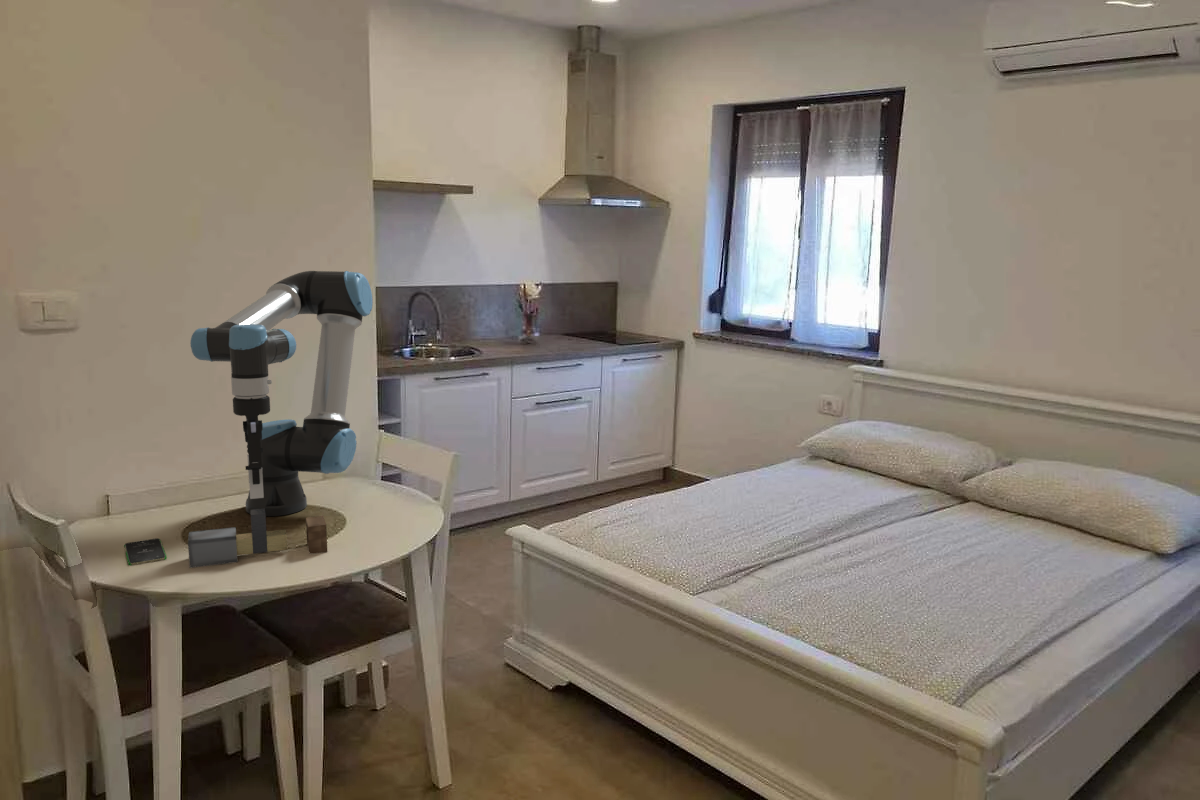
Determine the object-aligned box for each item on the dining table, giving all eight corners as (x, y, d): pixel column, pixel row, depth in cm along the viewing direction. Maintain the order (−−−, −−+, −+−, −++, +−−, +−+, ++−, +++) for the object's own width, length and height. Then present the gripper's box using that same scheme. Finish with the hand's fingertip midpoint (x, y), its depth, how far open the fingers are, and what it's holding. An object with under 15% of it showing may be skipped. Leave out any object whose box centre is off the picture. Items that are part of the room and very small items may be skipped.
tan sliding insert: (197, 560, 187) (194, 520, 185) (197, 554, 191) (195, 515, 189) (287, 549, 194) (285, 511, 192) (286, 544, 198) (284, 506, 196)
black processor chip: (128, 563, 186) (123, 542, 198) (128, 567, 186) (123, 546, 198) (167, 557, 190) (159, 537, 202) (167, 561, 190) (160, 541, 202)
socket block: (309, 554, 195) (308, 526, 194) (307, 544, 201) (305, 517, 200) (327, 551, 196) (326, 524, 195) (324, 542, 203) (323, 515, 201)
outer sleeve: (189, 567, 186) (187, 541, 184) (191, 557, 191) (189, 532, 190) (237, 562, 189) (235, 536, 188) (237, 552, 195) (235, 527, 194)
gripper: (272, 404, 177) (276, 503, 181) (267, 386, 200) (271, 474, 204) (232, 406, 175) (238, 506, 178) (232, 387, 197) (237, 477, 201)
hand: (256, 489), depth 191 cm, fingers open, 13 cm apart
